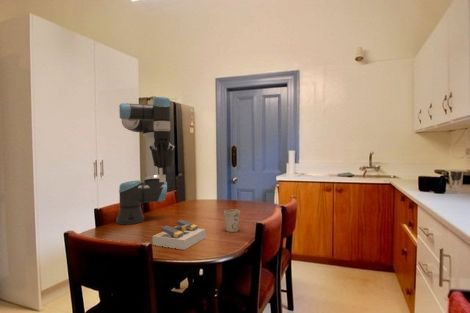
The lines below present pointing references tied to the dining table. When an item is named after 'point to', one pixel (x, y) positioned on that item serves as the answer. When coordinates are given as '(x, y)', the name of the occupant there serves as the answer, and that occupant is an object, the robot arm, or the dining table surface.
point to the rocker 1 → (172, 231)
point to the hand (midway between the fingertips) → (162, 181)
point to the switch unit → (179, 239)
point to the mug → (232, 219)
